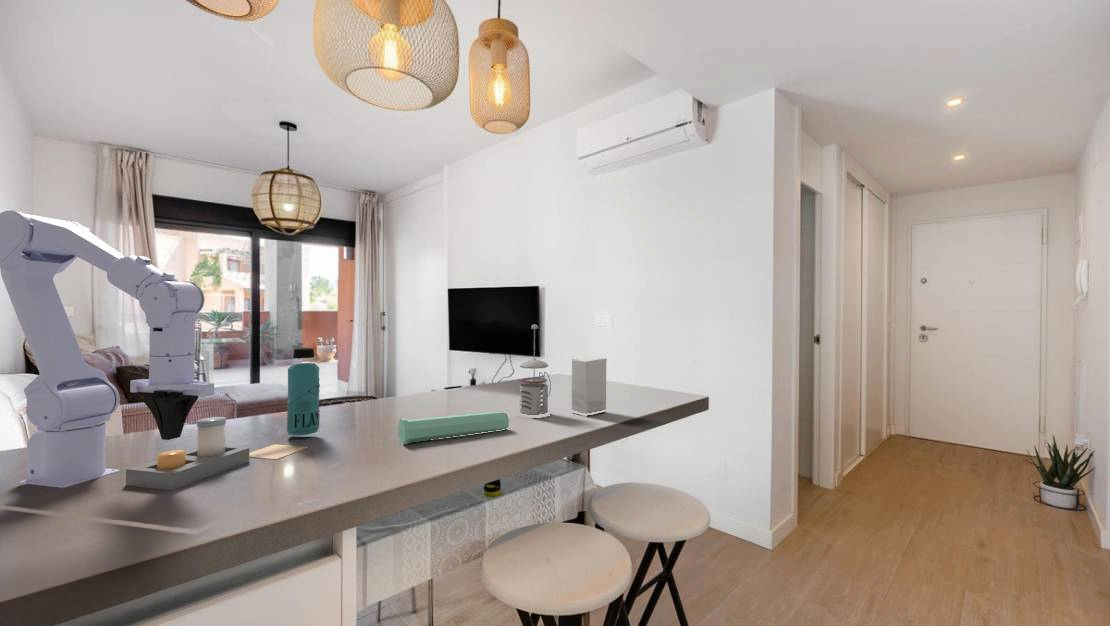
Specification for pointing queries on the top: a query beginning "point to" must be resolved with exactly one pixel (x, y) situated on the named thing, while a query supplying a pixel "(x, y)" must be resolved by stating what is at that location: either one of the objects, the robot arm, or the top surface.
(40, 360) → the robot arm
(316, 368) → the beverage bottle
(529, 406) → the french press
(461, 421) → the container
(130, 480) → the housing
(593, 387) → the skincare box
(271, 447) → the mat
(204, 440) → the cartridge
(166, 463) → the orange cylinder
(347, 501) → the top surface
